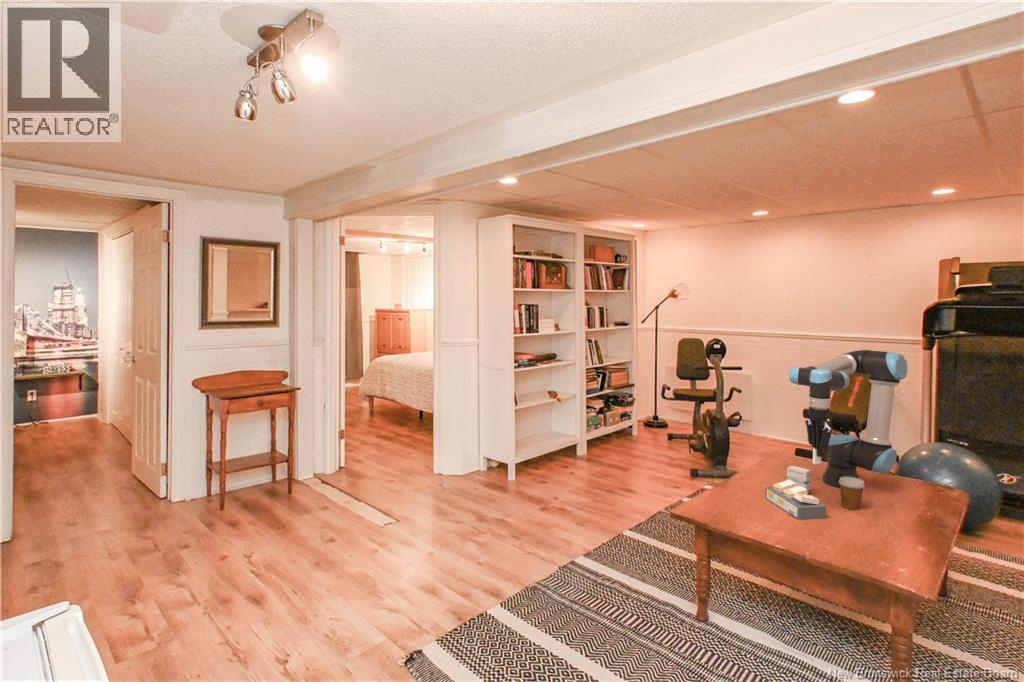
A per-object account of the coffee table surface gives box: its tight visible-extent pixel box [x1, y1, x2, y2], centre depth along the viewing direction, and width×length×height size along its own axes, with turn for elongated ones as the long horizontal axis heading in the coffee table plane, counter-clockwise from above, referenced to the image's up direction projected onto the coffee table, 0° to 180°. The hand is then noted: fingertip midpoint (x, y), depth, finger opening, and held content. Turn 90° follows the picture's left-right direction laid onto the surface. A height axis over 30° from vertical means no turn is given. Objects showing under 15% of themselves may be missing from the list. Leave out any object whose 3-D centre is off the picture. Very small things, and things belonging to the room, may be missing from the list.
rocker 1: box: [772, 479, 797, 493], centre depth 232 cm, size 8×4×2 cm, turn 97°
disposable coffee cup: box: [839, 476, 866, 511], centre depth 226 cm, size 10×10×12 cm
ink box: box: [786, 465, 812, 495], centre depth 241 cm, size 8×5×12 cm, turn 39°
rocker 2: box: [783, 486, 808, 499], centre depth 225 cm, size 8×4×2 cm, turn 97°
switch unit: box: [765, 486, 827, 521], centre depth 225 cm, size 13×22×6 cm, turn 8°
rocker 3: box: [794, 493, 820, 504], centre depth 218 cm, size 8×4×2 cm, turn 99°
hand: (816, 463), depth 219 cm, fingers closed
